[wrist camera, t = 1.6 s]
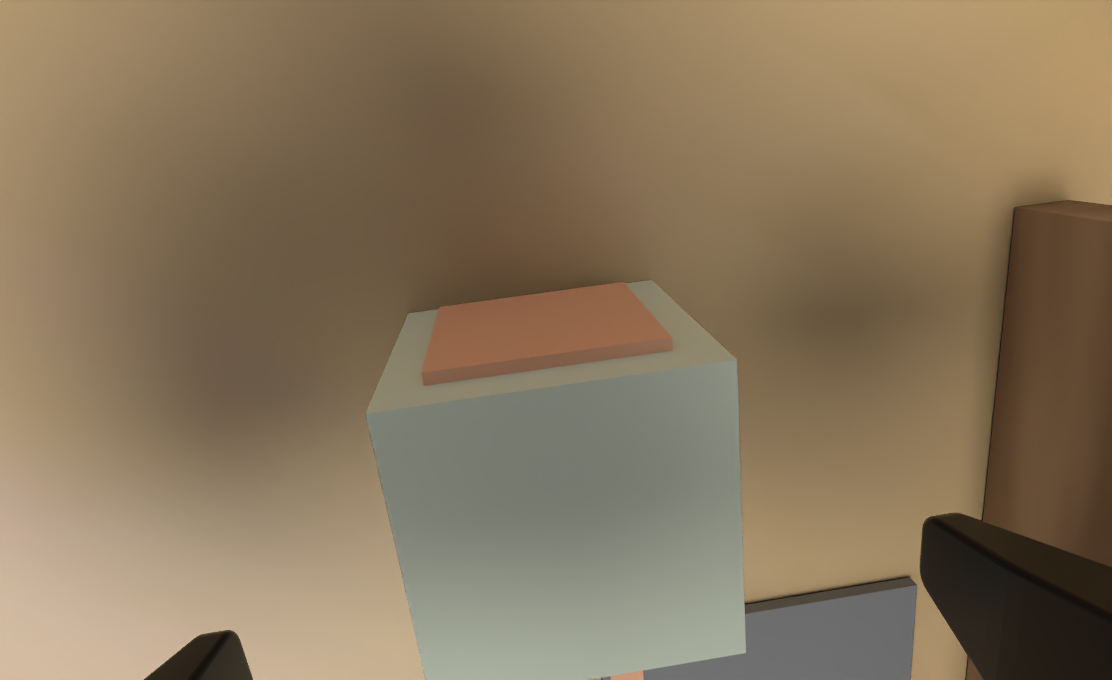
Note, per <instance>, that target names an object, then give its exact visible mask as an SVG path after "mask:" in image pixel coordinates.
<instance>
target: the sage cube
mask: <svg viewBox="0 0 1112 680" xmlns="http://www.w3.org/2000/svg"><path fill="white" fill-rule="evenodd" d="M365 414H366V419H367V423H368V428H369V432H370V436H371V441H372V445H373V450H374V454H375V459H376V463H377V467H378V472H379V476H380V481H381V485H382V489H383V494H384V498H385V503H386V507H387V511H388V516H389V520H390V525H391V529H392V534H393V538H394V542H395V547H396V551H397V556H398V560H399V564H400V569H401V573H402V578H403V582H404V587H405V591H406V595H407V600H408V604H409V609H410V613H411V617H412V622H413V626H414V631H415V635H416V639H417V644H418V648H419V653H420V657H421V662H422V666H423V670H424V675H425V679H426V680H591V679H597V678H602V677H608V676H614V675H620V674H626V673H632V672H638V671H643V670H649V669H655V668H661V667H667V666H673V665H679V664H685V663H690V662H696V661H702V660H708V659H714V658H720V657H726V656H731V655H737V654H743V653H746V637H745V603H744V570H743V536H742V503H741V469H740V436H739V403H738V369H737V359H736V358H735V357H734V356H733V355H732V354H731V353H730V352H728V351H727V350H726V349H725V348H724V347H723V346H722V345H721V344H720V343H719V342H718V341H717V340H716V339H715V338H713V337H712V336H711V335H710V334H709V333H708V332H707V331H706V330H705V329H704V328H703V327H702V326H701V325H700V324H698V323H697V322H696V321H695V320H694V319H693V318H692V317H691V316H690V315H689V314H688V313H687V312H686V311H685V310H683V309H682V308H681V307H680V306H679V305H678V304H677V303H676V302H675V301H674V300H673V299H672V298H671V297H670V296H668V295H667V294H666V293H665V292H664V291H663V290H662V289H661V288H660V287H659V286H658V285H657V284H656V283H655V282H653V281H652V280H647V281H640V282H633V283H624V282H618V283H611V284H603V285H596V286H589V287H581V288H574V289H567V290H559V291H552V292H545V293H537V294H530V295H523V296H515V297H508V298H501V299H493V300H486V301H479V302H471V303H464V304H457V305H449V306H442V307H439V309H436V310H428V311H421V312H414V313H408V315H407V318H406V320H405V322H404V325H403V327H402V329H401V332H400V334H399V336H398V339H397V341H396V343H395V346H394V348H393V350H392V353H391V355H390V357H389V360H388V362H387V364H386V367H385V369H384V371H383V373H382V376H381V378H380V380H379V383H378V385H377V387H376V390H375V392H374V394H373V397H372V399H371V401H370V404H369V406H368V408H367V411H366V413H365Z"/></svg>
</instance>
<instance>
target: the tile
mask: <svg viewBox="0 0 1112 680" xmlns="http://www.w3.org/2000/svg"><path fill="white" fill-rule="evenodd" d="M916 595H917V584H916V583H915V582H914V581H913V580H912V579H911V578H910V577H909V578H903V579H897V580H891V581H885V582H879V583H873V584H867V585H861V586H855V587H849V588H843V589H837V590H831V591H825V592H819V593H813V594H807V595H801V596H795V597H789V598H783V599H777V600H771V601H765V602H759V603H753V604H747V605H745V637H746V653H743V654H737V655H731V656H726V657H720V658H714V659H708V660H702V661H696V662H690V663H685V664H679V665H673V666H667V667H661V668H655V669H649V670H643V671H638V672H632V673H626V674H620V675H614V676H608V677H602V680H911V667H912V653H913V638H914V624H915V610H916Z"/></svg>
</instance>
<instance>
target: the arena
mask: <svg viewBox="0 0 1112 680" xmlns="http://www.w3.org/2000/svg"><path fill="white" fill-rule="evenodd" d="M983 522H986V523H989V524H992V525H995V526H997V527H1000V528H1003V529H1006V530H1009V531H1012V532H1014V533H1017V534H1020V535H1023V536H1026V537H1028V538H1031V539H1034V540H1037V541H1040V542H1042V543H1045V544H1048V545H1051V546H1054V547H1056V548H1059V549H1062V550H1065V551H1068V552H1071V553H1073V554H1076V555H1079V556H1082V557H1085V558H1087V559H1090V560H1093V561H1096V562H1099V563H1101V564H1104V565H1107V566H1110V567H1112V205H1104V204H1096V203H1088V202H1080V201H1071V200H1067V201H1060V202H1053V203H1045V204H1038V205H1030V206H1023V207H1015V216H1014V225H1013V235H1012V245H1011V254H1010V264H1009V273H1008V283H1007V293H1006V302H1005V312H1004V321H1003V331H1002V341H1001V350H1000V360H999V370H998V379H997V389H996V398H995V408H994V418H993V427H992V437H991V446H990V456H989V466H988V475H987V485H986V495H985V504H984V514H983ZM966 680H983V679H982V677H981V675H980V674H979V672H978V671H977V669H976V668H975V666H974V664H973V663H972V661H971V660H970V658H968V668H967V677H966Z"/></svg>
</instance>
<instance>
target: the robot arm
mask: <svg viewBox="0 0 1112 680" xmlns="http://www.w3.org/2000/svg"><path fill="white" fill-rule="evenodd" d="M920 575H921V579H922V582H923V584H924V586H925V588H926V590H927V592H928V593H929V595H930V596H931V598H932V599H933V601H934V603H935V604H936V606H937V607H938V609H939V611H940V612H941V614H942V615H943V617H944V618H945V620H946V622H947V623H948V625H949V626H950V628H951V630H952V631H953V633H954V634H955V636H956V637H957V639H958V641H959V642H960V644H961V645H962V647H963V649H964V650H965V652H966V653H967V655H968V656H969V658H970V660H971V661H972V663H973V664H974V666H975V668H976V669H977V671H978V672H979V674H980V675H981V677H982V679H983V680H1112V567H1110V566H1107V565H1104V564H1101V563H1099V562H1096V561H1093V560H1090V559H1087V558H1085V557H1082V556H1079V555H1076V554H1073V553H1071V552H1068V551H1065V550H1062V549H1059V548H1056V547H1054V546H1051V545H1048V544H1045V543H1042V542H1040V541H1037V540H1034V539H1031V538H1028V537H1026V536H1023V535H1020V534H1017V533H1014V532H1012V531H1009V530H1006V529H1003V528H1000V527H997V526H995V525H992V524H989V523H986V522H983V521H981V520H978V519H975V518H972V517H969V516H967V515H964V514H961V513H949V514H943V515H936V516H931V517H929V518H927V519H926V520H925V522H924V524H923V528H922V541H921V555H920ZM144 680H253V678H252V675H251V672H250V669H249V666H248V663H247V660H246V657H245V654H244V651H243V648H242V645H241V642H240V639H239V637H238V635H237V634H236V633H235V632H234V631H231V630H225V631H219V632H213V633H206V634H202V635H199V636H197V637H196V638H194V639H193V640H192V641H191V642H189V643H188V644H187V645H186V646H185V647H183V648H182V649H181V650H180V651H178V652H177V653H176V654H175V655H173V656H172V657H171V658H170V659H169V660H167V661H166V662H165V663H164V664H162V665H161V666H160V667H159V668H157V669H156V670H155V671H154V672H153V673H151V674H150V675H149V676H148V677H146V678H145V679H144Z"/></svg>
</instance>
